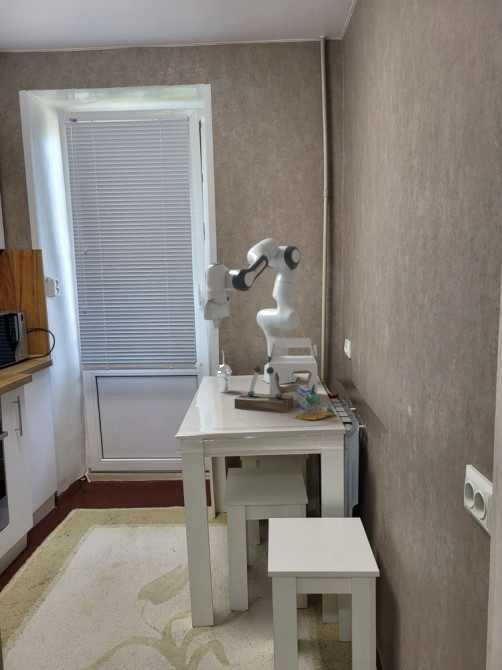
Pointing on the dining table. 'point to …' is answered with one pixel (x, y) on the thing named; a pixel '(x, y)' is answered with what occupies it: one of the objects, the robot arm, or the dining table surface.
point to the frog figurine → (313, 400)
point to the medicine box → (303, 397)
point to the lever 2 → (274, 382)
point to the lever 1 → (254, 380)
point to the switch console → (264, 402)
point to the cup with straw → (223, 376)
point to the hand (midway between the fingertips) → (217, 328)
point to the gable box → (293, 364)
